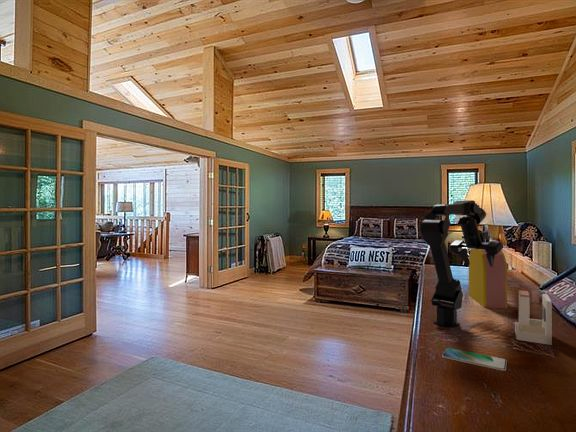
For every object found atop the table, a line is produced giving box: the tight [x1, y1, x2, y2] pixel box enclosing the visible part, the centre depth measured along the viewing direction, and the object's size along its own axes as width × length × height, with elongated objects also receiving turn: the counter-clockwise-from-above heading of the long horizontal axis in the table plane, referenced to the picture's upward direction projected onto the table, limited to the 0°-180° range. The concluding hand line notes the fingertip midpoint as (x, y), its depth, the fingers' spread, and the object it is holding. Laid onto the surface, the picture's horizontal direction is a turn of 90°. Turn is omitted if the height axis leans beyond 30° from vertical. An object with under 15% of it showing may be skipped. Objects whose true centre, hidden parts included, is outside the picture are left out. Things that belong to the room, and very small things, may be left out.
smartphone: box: [441, 347, 508, 372], centre depth 93 cm, size 7×1×15 cm
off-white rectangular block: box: [518, 289, 531, 330], centre depth 111 cm, size 2×7×11 cm, turn 149°
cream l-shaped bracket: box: [514, 293, 553, 346], centre depth 110 cm, size 9×11×13 cm
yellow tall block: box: [468, 242, 508, 309], centre depth 153 cm, size 21×9×26 cm, turn 168°
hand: (480, 265), depth 137 cm, fingers open, 9 cm apart
